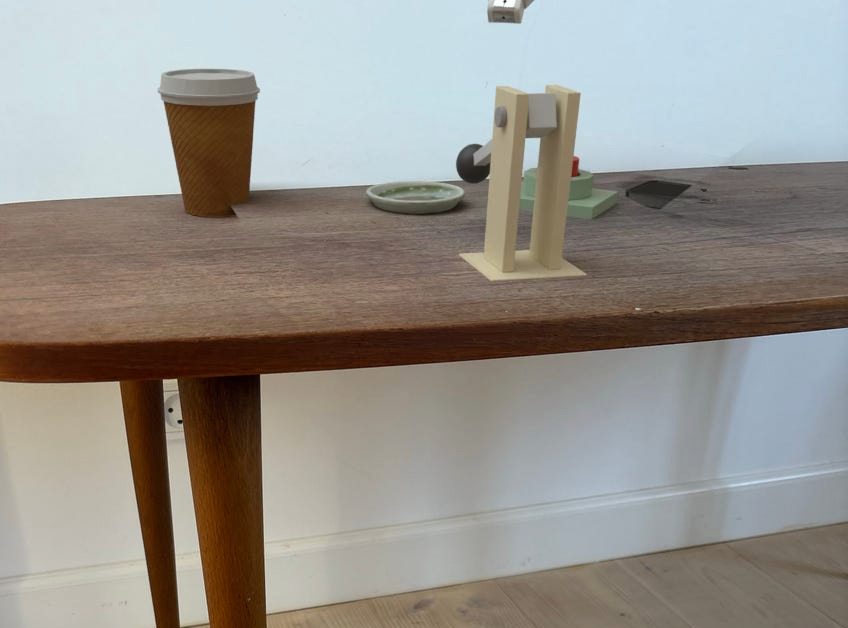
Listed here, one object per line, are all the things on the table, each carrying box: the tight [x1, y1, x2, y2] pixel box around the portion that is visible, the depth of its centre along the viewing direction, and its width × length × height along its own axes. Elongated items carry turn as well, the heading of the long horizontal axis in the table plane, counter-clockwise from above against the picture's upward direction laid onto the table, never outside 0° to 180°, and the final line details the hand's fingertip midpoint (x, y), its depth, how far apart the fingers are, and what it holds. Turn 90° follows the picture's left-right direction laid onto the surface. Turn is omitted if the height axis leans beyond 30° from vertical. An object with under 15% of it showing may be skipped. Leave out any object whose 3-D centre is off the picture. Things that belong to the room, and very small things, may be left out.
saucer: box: [365, 180, 466, 215], centre depth 103 cm, size 10×10×2 cm
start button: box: [571, 155, 580, 177], centre depth 102 cm, size 4×4×2 cm
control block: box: [519, 167, 619, 220], centre depth 103 cm, size 10×8×4 cm
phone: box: [624, 179, 693, 209], centre depth 108 cm, size 8×1×15 cm
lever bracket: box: [458, 84, 588, 283], centre depth 82 cm, size 8×8×14 cm
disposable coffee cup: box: [157, 68, 261, 218], centre depth 101 cm, size 10×10×12 cm
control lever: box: [455, 92, 557, 185], centre depth 86 cm, size 17×3×3 cm, turn 14°
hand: (503, 18), depth 93 cm, fingers closed
